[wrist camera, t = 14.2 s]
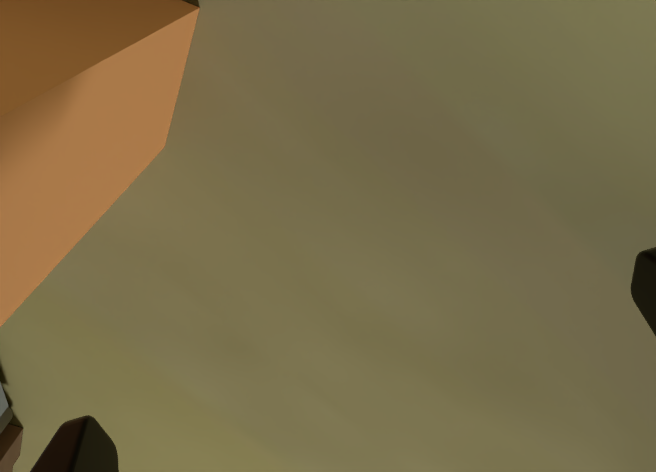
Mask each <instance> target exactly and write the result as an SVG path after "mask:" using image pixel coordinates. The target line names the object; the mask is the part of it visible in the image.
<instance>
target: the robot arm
mask: <svg viewBox="0 0 656 472" xmlns="http://www.w3.org/2000/svg"><path fill="white" fill-rule="evenodd" d="M631 294H632V297H633V300H634V302H635V304H636V305H637V307H638V308H639V310H640V312H641V313H642V315H643V317H644V318H645V320H646V321H647V323H648V325H649V326H650V328H651V329H652V331H653V333H654V334H655V336H656V247H654V248H651V249H647V250H644V251H642V252H640V253H639V254H638V255H637V257H636V261H635V266H634V272H633V277H632V283H631ZM30 472H119V470H118V455H117V450H116V447H115V445H114V443H113V441H112V440H111V438H110V437H109V436H108V435H107V433H106V432H105V431H104V430H103V428H102V427H101V426H100V424H99V423H98V422H97V421H96V420H95V418H94V417H92V416H89V415H88V416H83V417H79V418H76V419H73V420H69V421H67V422H65V423H63V424H62V425H61V426H60V428H59V429H58V430H57V432H56V433H55V435H54V436H53V438H52V439H51V441H50V442H49V444H48V445H47V447H46V448H45V450H44V451H43V453H42V454H41V456H40V458H39V459H38V461H37V462H36V464H35V465H34V467H33V468H32V470H31V471H30Z"/></svg>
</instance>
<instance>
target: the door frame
mask: <svg viewBox="0 0 656 472" xmlns="http://www.w3.org/2000/svg"><path fill="white" fill-rule="evenodd" d="M22 433H23V428H20V427H17V426H13V425H10V424H7V426H6V427H5V428H4V430H3V431H2V433H1V434H0V472H12V469H13V465H14V463H15V462H16V460H17V459H18V457H19V456H20V449H21V441H22Z"/></svg>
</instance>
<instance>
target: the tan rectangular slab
mask: <svg viewBox="0 0 656 472" xmlns="http://www.w3.org/2000/svg"><path fill="white" fill-rule="evenodd" d="M199 9H200V8H199V7H197V6H195V5H192V4H190V3H187V2H185V1H183V0H0V327H1V326H2V325H3V323H4V322H5V321H6V320H7V319H8V318H9V317H10V316H11V315H12V314H13V313H14V311H15V310H16V309H17V308H18V307H19V306H20V305H21V304H22V303H23V302H24V300H25V299H26V298H27V297H28V296H29V295H30V294H31V293H32V292H33V291H34V290H35V288H36V287H37V286H38V285H39V284H40V283H41V282H42V281H43V280H44V279H45V277H46V276H47V275H48V274H49V273H50V272H51V271H52V270H53V269H54V268H55V267H56V265H57V264H58V263H59V262H60V261H61V260H62V259H63V258H64V257H65V256H66V254H67V253H68V252H69V251H70V250H71V249H72V248H73V247H74V246H75V245H76V244H77V242H78V241H79V240H80V239H81V238H82V237H83V236H84V235H85V234H86V233H87V231H88V230H89V229H90V228H91V227H92V226H93V225H94V224H95V223H96V222H97V220H98V219H99V218H100V217H101V216H102V215H103V214H104V213H105V212H106V211H107V210H108V208H109V207H110V206H111V205H112V204H113V203H114V202H115V201H116V200H117V199H118V197H119V196H120V195H121V194H122V193H123V192H124V191H125V190H126V189H127V188H128V187H129V185H130V184H131V183H132V182H133V181H134V180H135V179H136V178H137V177H138V176H139V174H140V173H141V172H142V171H143V170H144V169H145V168H146V167H147V166H148V165H149V164H150V162H151V161H152V160H153V159H154V158H155V157H156V156H157V155H158V154H159V153H160V151H161V150H162V149H163V148H164V147H165V143H166V139H167V135H168V132H169V128H170V124H171V120H172V116H173V112H174V108H175V104H176V100H177V96H178V92H179V88H180V84H181V80H182V76H183V72H184V68H185V64H186V60H187V56H188V52H189V48H190V44H191V40H192V36H193V33H194V29H195V25H196V21H197V17H198V13H199Z"/></svg>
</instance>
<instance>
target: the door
mask: <svg viewBox="0 0 656 472" xmlns="http://www.w3.org/2000/svg"><path fill="white" fill-rule="evenodd" d="M12 417H13V413H12V411H11V409H10V408H9V407H8V403H7V400H6V397H5V394H4V391H3V388H2V385H1V383H0V434H1V433H2V431H3V430H4V428H5V427H6V426H7V424H8V423H9V422H10V420H11V419H12Z"/></svg>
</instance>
